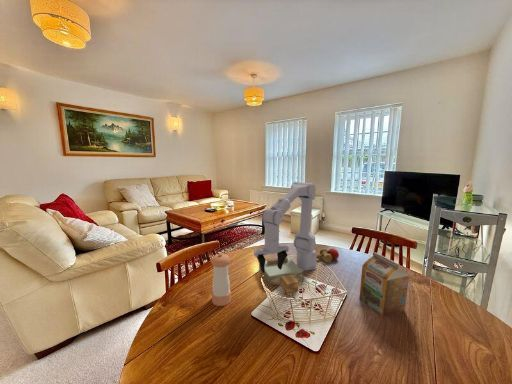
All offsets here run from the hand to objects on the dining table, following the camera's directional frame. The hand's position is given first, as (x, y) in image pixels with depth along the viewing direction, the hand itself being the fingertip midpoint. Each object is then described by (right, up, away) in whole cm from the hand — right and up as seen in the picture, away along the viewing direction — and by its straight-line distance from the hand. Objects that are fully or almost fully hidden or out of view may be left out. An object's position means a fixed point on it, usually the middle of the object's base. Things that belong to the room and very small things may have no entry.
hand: (271, 269), depth 87 cm
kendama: (+30, -6, +30) cm, 43 cm away
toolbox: (+5, -8, +14) cm, 16 cm away
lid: (+5, -4, +13) cm, 14 cm away
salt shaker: (-20, -10, -4) cm, 23 cm away
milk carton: (+42, -11, -6) cm, 43 cm away
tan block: (+8, -9, +4) cm, 13 cm away
